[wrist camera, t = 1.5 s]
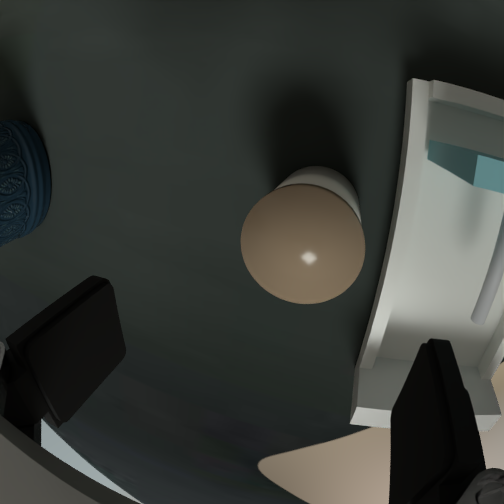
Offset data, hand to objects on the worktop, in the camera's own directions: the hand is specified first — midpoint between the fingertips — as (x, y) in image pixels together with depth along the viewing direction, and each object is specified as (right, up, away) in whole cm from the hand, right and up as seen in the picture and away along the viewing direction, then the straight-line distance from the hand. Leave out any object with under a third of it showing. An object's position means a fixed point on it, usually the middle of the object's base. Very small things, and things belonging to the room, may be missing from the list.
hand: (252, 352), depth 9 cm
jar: (+4, +6, +12) cm, 14 cm away
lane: (+15, +2, +10) cm, 18 cm away
